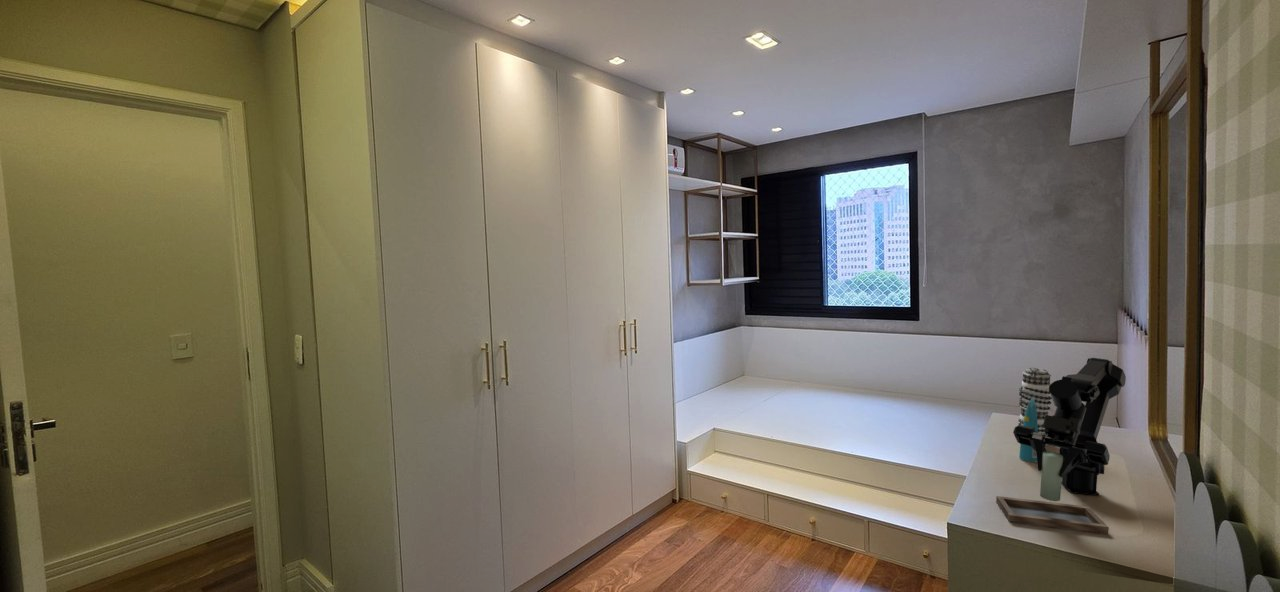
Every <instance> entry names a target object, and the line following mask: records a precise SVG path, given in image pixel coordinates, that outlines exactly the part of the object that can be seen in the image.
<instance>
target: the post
mask: <svg viewBox="0 0 1280 592" xmlns="http://www.w3.org/2000/svg"><path fill="white" fill-rule="evenodd" d="M1062 465H1063V456H1062V455H1061V454H1059V453H1058V452H1053V451H1047V452H1043V457H1042V470H1041V472H1040V473H1041V476H1040V491H1039V493H1040V494H1039V496H1040V498H1042V499H1045V500H1047V501H1049V502H1051V501H1052V502H1060V501H1061V493H1062V492H1061V491H1062V478H1063V477H1060V476H1059V474H1060V470H1061V467H1062Z"/></svg>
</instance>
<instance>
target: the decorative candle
mask: <svg viewBox="0 0 1280 592" xmlns="http://www.w3.org/2000/svg"><path fill="white" fill-rule="evenodd" d="M1021 374H1022V381H1021V386H1020V387H1019V389H1018V391H1019V393H1018V395H1019V396H1020V397H1019V403H1018V406H1019V407H1020V414H1019V418H1018V425H1022V426H1023V423H1024V418H1025V414H1026V410H1027V407H1028V404H1029V401H1030V400H1031V399H1032V398H1033V397H1034V399H1035V404H1036V410H1037V423H1038V433H1039V434H1042V435H1044V436H1047V434H1046V433H1045V431H1044V430H1045V428H1043V423H1044V418H1045V415H1049V411H1051V409H1052V407H1050V405H1051V404H1052V402H1051V400H1052V397H1051V395H1050V392H1049V386H1050V384H1051V377H1052V375H1051V374H1050V373H1049V372H1048V371H1047V370H1046V369H1043V368H1039V367H1038V368H1036V367H1028V368H1026V369H1025V370H1023V371H1022V372H1021ZM1046 446H1048V444H1046Z"/></svg>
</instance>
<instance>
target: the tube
mask: <svg viewBox="0 0 1280 592" xmlns="http://www.w3.org/2000/svg"><path fill="white" fill-rule="evenodd" d="M1023 426H1026V427H1030V428H1034V430H1035V432H1036V433H1038V423H1037V410H1036V404H1035V399H1034V397H1033V398H1032V399H1031V400H1030V401H1029V404H1028V407H1027V410H1026V414H1025V418H1024V423H1023ZM1019 444H1020V443H1019ZM1019 459H1020V460H1022V461H1023V462H1029V463H1036V462H1037V453H1036V451H1035V450H1034V449H1033V448H1032V447H1031V446H1027V445H1023V444H1020V445H1019Z"/></svg>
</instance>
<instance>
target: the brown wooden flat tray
mask: <svg viewBox="0 0 1280 592" xmlns="http://www.w3.org/2000/svg"><path fill="white" fill-rule="evenodd" d="M995 498H996V501H995V503H996V504H998V505H997V507H999V509H1000V511H1001V510H1002V511H1001V512H1002V514H1003V513H1004V514H1003V515H1004V516H1005V518H1006V520H1007V521H1008V523H1012V524H1013V523H1015V524H1023V525H1030V526H1038V527H1039V526H1040V527H1048V528H1055V529H1062V530H1069V531H1077V532H1083V533H1084V532H1086V533H1092V534H1094V533H1095V534H1102V535H1109V530H1110V528H1109V527H1110V526H1108V525H1107V524H1106V523H1105V522H1104V520H1102V519H1101V518H1100V517H1099V515H1097V514H1096V513H1095V512H1094V511H1093V510H1092V509H1091V508H1090V507H1089V506H1088V505H1087V506H1086V505H1078V504H1070V503H1061V502H1054V501H1052V502H1051V501H1045V500H1044V501H1042V500H1036V499H1035V500H1034V499H1026V498H1017V497H1009V496H1008V497H1007V496H999V495H997V496H996V497H995Z"/></svg>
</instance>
